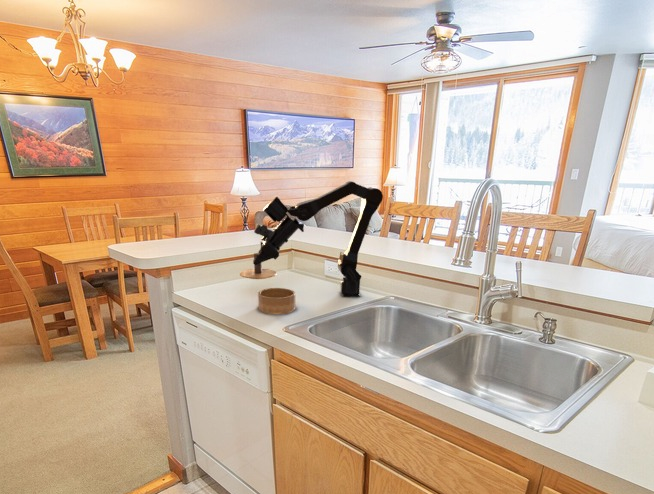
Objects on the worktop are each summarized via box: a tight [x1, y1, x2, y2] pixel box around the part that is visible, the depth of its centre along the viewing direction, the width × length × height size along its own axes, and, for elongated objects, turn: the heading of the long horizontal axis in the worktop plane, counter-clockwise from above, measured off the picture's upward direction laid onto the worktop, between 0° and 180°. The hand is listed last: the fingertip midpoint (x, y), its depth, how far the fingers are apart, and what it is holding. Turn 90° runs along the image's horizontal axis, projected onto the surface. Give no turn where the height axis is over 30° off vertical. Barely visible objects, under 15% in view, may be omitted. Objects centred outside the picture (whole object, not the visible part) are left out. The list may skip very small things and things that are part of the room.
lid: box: [239, 252, 277, 280], centre depth 159 cm, size 13×13×8 cm
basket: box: [257, 287, 296, 315], centre depth 149 cm, size 12×12×6 cm
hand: (254, 263), depth 158 cm, fingers closed on lid, 2 cm apart
